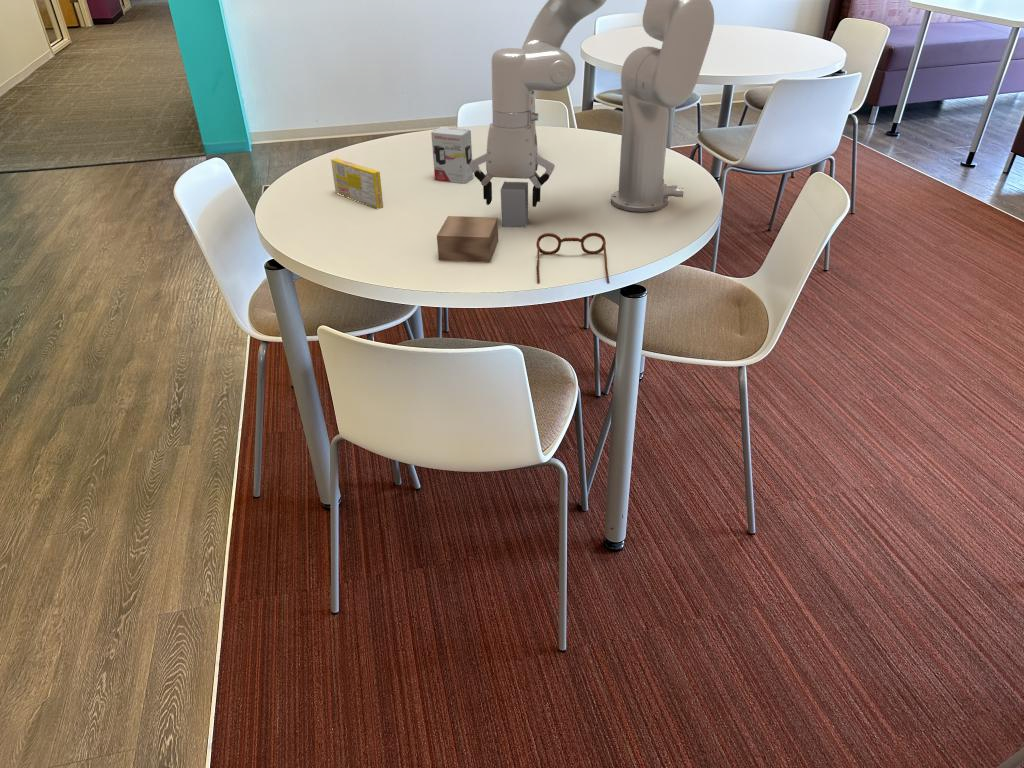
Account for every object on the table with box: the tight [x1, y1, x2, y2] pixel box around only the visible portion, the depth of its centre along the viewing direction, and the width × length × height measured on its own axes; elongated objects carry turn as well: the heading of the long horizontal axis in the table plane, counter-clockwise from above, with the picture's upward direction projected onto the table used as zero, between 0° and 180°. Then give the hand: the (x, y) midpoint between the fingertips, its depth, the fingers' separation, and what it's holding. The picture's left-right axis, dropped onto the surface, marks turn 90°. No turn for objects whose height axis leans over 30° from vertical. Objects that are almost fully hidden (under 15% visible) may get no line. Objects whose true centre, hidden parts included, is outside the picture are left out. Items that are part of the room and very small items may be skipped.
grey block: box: [500, 181, 529, 229], centre depth 150 cm, size 5×5×8 cm
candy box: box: [330, 157, 384, 209], centre depth 164 cm, size 16×2×8 cm, turn 47°
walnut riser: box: [436, 215, 500, 263], centre depth 139 cm, size 10×10×5 cm
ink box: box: [430, 126, 474, 185], centre depth 173 cm, size 9×5×12 cm, turn 68°
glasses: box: [535, 232, 610, 285], centre depth 132 cm, size 13×13×5 cm
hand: (511, 203), depth 149 cm, fingers open, 9 cm apart
